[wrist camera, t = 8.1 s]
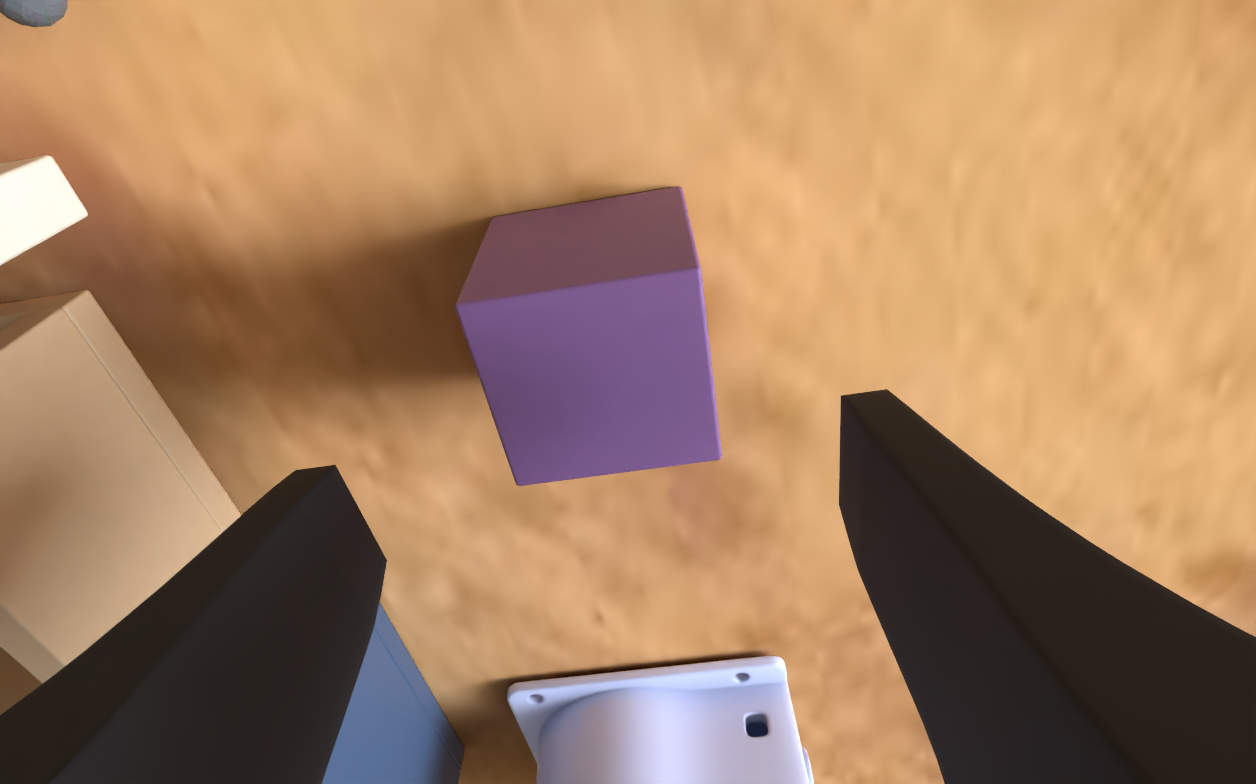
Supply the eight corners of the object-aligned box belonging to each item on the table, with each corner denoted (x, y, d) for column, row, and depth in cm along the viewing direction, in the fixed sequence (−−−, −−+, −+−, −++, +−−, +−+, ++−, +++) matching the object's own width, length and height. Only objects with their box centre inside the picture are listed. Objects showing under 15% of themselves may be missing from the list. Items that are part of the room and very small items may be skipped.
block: (681, 185, 14) (701, 267, 11) (701, 350, 16) (723, 461, 13) (490, 216, 14) (452, 305, 11) (536, 374, 17) (516, 488, 13)
